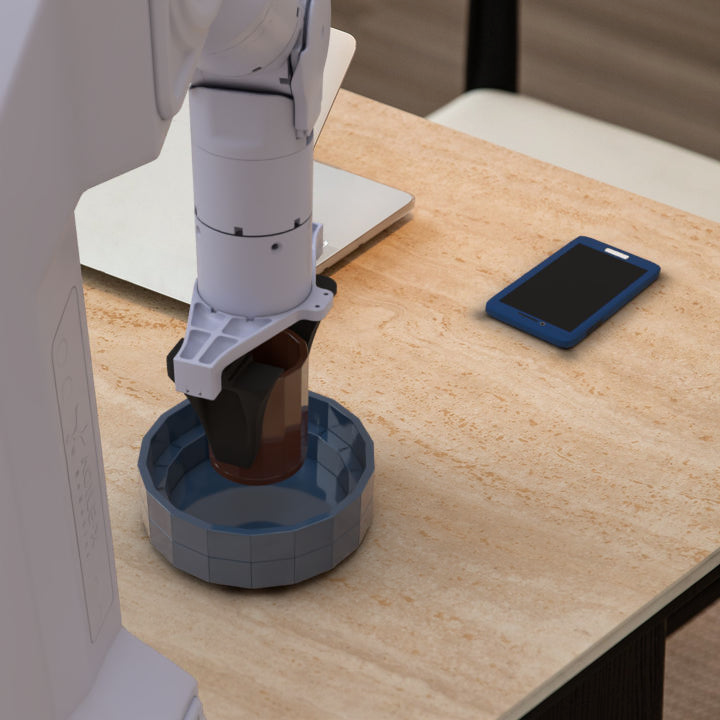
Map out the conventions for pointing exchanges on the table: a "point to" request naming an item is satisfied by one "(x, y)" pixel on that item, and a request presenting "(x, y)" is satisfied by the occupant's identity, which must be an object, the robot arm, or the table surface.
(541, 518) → the table surface
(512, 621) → the table surface
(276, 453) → the cup
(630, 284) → the cell phone
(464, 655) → the table surface
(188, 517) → the bowl
